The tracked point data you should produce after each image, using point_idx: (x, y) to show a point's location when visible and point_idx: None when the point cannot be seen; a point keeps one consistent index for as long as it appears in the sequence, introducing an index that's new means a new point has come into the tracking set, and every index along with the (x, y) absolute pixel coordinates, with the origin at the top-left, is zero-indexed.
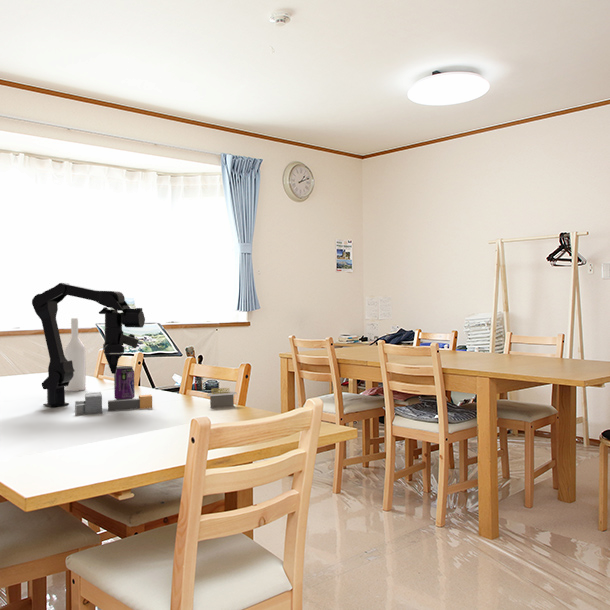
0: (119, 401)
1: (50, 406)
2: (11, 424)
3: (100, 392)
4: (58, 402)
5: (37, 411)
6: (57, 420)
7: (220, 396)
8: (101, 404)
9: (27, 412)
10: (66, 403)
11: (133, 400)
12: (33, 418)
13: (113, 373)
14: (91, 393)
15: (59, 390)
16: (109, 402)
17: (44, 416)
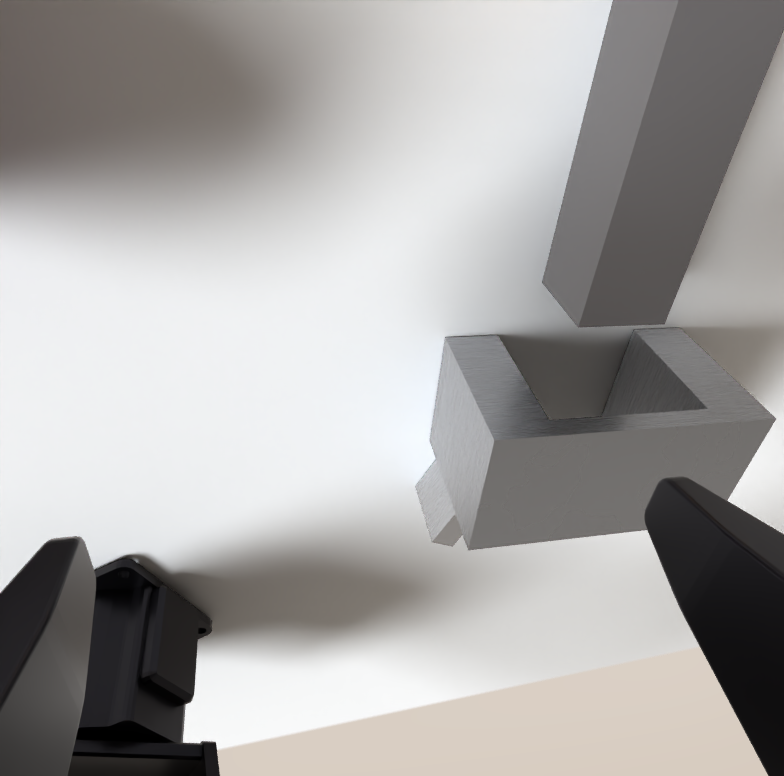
0: (703, 217)
1: (204, 630)
2: (649, 646)
3: (529, 441)
4: (195, 623)
5: (339, 645)
6: None
7: None
8: (720, 371)
9: (348, 671)
10: (127, 578)
11: (775, 40)
12: (563, 616)
13: (669, 499)
14: (540, 504)
15: (165, 715)
16: (666, 311)
17: (540, 591)
